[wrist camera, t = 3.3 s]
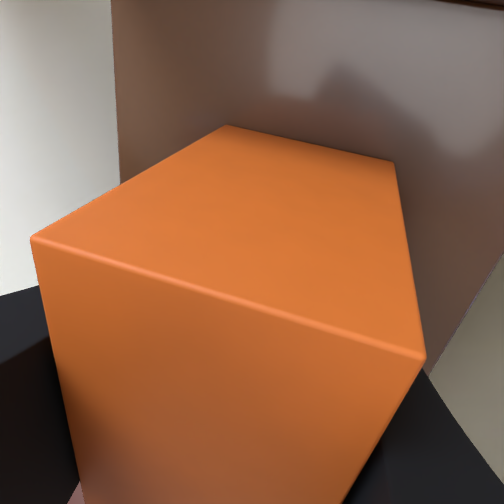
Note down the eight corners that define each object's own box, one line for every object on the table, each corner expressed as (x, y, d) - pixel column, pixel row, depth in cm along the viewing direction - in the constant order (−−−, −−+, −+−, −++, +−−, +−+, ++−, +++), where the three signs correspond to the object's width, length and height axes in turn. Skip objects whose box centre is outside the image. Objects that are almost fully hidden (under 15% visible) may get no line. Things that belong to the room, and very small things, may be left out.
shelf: (571, -17, 9) (887, -107, 3) (372, 383, 17) (373, 546, 11) (189, -70, 10) (-10, -187, 5) (173, 319, 18) (90, 435, 13)
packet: (394, 161, 8) (430, 358, 3) (318, 371, 12) (278, 615, 7) (224, 123, 9) (25, 235, 4) (203, 334, 12) (89, 531, 7)
